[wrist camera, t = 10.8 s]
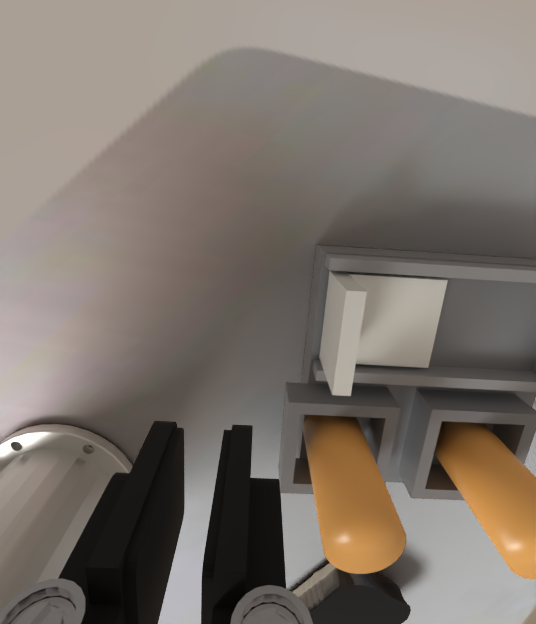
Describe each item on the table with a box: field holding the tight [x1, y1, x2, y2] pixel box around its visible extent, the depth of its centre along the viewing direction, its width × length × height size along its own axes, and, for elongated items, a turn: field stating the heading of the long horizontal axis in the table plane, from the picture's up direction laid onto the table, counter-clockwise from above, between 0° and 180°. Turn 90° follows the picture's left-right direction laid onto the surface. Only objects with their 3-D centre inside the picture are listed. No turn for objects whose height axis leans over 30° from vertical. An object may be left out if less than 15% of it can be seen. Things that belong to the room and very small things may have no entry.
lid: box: [319, 271, 448, 396], centre depth 21 cm, size 7×6×5 cm
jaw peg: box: [434, 421, 536, 579], centre depth 22 cm, size 4×4×9 cm
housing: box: [279, 245, 536, 574], centre depth 22 cm, size 18×17×12 cm
